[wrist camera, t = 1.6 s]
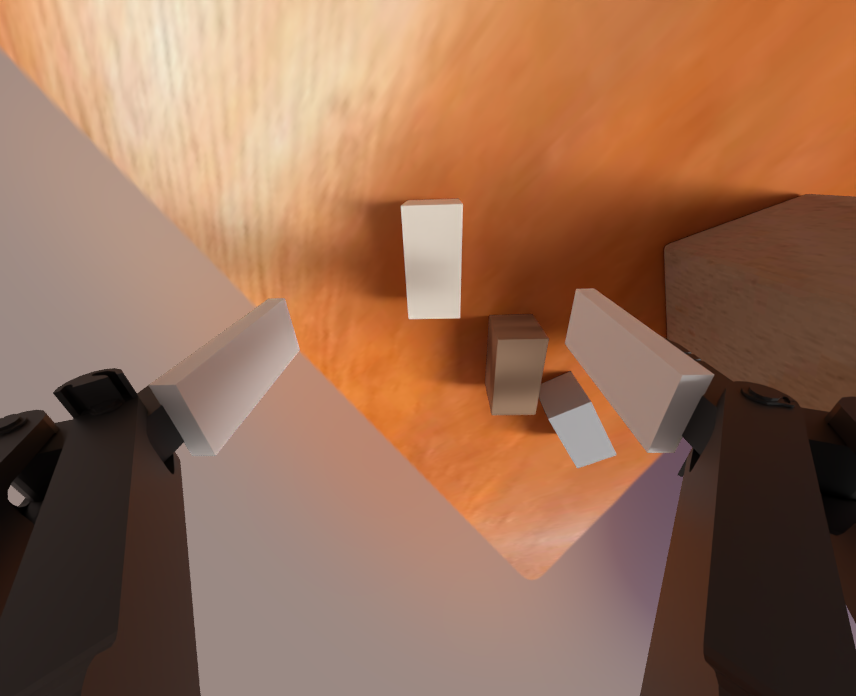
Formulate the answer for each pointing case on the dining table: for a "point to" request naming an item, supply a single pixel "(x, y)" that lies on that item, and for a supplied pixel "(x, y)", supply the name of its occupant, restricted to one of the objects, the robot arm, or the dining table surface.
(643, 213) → the dining table surface
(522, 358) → the walnut brick
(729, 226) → the wooden block
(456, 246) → the cream brick
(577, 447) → the slate brick
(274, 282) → the dining table surface
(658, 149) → the dining table surface
